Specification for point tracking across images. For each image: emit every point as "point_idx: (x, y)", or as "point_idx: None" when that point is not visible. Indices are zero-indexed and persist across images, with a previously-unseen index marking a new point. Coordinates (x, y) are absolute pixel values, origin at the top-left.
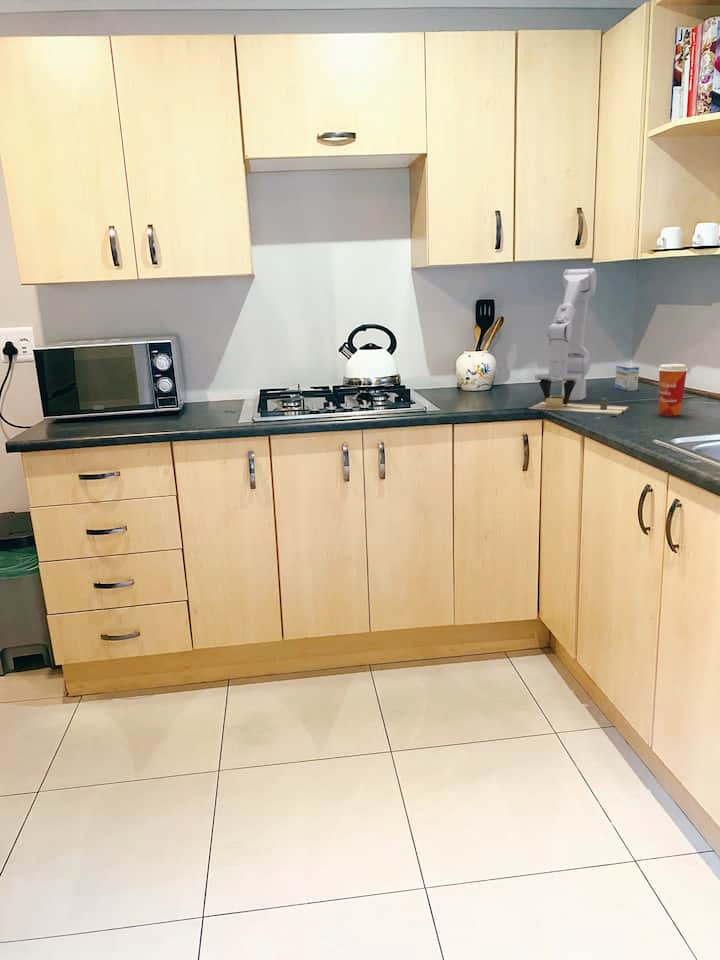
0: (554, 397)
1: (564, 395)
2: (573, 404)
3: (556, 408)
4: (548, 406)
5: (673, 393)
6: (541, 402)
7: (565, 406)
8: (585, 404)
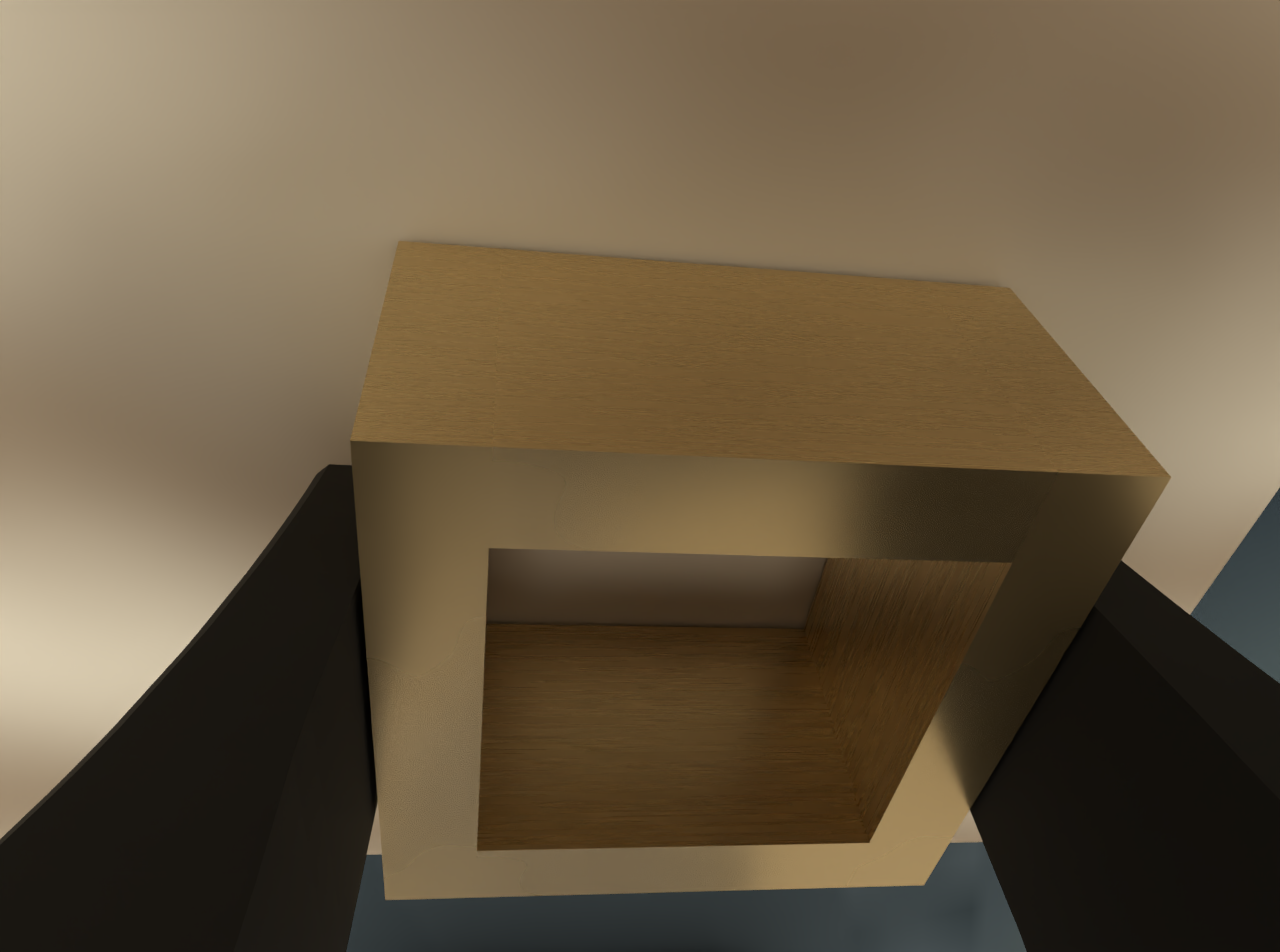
0: (814, 806)
1: (311, 694)
2: None
3: (582, 52)
4: (918, 284)
5: None
6: None
7: None
8: None
